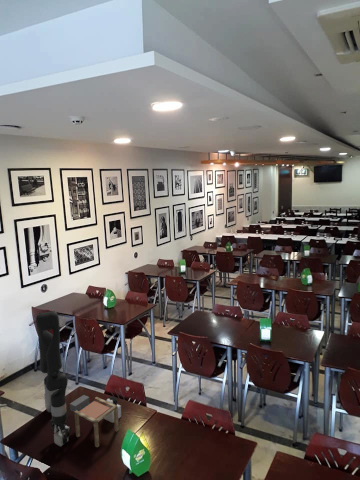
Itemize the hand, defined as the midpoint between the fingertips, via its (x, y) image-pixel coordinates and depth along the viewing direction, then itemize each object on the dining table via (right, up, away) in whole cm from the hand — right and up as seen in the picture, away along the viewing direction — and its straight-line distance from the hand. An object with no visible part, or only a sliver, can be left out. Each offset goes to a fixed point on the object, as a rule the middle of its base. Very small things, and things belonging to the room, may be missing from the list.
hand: (61, 441), depth 191 cm
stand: (+18, +1, +6) cm, 19 cm away
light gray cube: (0, -1, 0) cm, 0 cm away
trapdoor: (+13, +12, +8) cm, 19 cm away
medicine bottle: (+24, +3, +19) cm, 30 cm away
